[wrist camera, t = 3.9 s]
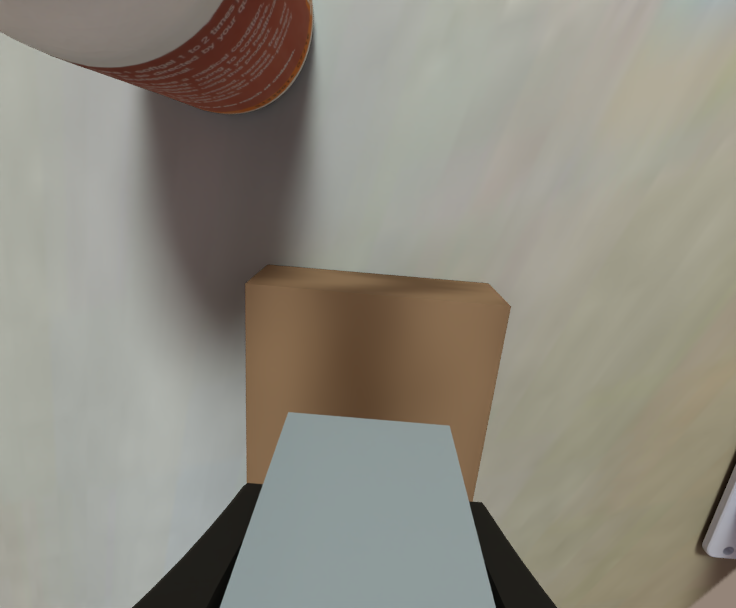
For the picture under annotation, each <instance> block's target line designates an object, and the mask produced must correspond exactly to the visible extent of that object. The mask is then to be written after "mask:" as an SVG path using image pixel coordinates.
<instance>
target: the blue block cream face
mask: <svg viewBox="0 0 736 608" xmlns="http://www.w3.org/2000/svg"><path fill="white" fill-rule="evenodd" d="M220 608H496V606H495V602H494V598H493V595H492V591H491V587H490V583H489V579H488V575H487V571H486V567H485V563H484V559H483V555H482V551H481V547H480V543H479V539H478V535H477V531H476V527H475V524H474V520H473V516H472V512H471V508H470V504H469V500H468V496H467V492H466V488H465V484H464V480H463V476H462V472H461V468H460V464H459V460H458V456H457V453H456V449H455V445H454V441H453V437H452V433H451V429H450V426H448V425H436V424H424V423H412V422H400V421H388V420H376V419H364V418H353V417H341V416H329V415H317V414H305V413H293V412H288V414H287V417H286V420H285V423H284V426H283V429H282V431H281V434H280V437H279V440H278V443H277V446H276V449H275V451H274V454H273V457H272V460H271V463H270V466H269V469H268V471H267V474H266V477H265V480H264V483H263V486H262V489H261V491H260V494H259V497H258V500H257V503H256V506H255V509H254V511H253V514H252V517H251V520H250V523H249V526H248V529H247V531H246V534H245V537H244V540H243V543H242V546H241V549H240V551H239V554H238V557H237V560H236V563H235V566H234V569H233V571H232V574H231V577H230V580H229V583H228V586H227V589H226V591H225V594H224V597H223V600H222V603H221V606H220Z"/></svg>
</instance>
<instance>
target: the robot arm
mask: <svg viewBox="0 0 736 608" xmlns="http://www.w3.org/2000/svg"><path fill="white" fill-rule="evenodd" d="M262 486H263V484H256V483H247V484H246V485H244V486H243V487H242V489H241V490H240V491H239V492H238V494H237V495H236V496H235V498H234V499H233V500H232V501H231V503H230V504H229V505H228V506H227V508H226V509H225V510H224V511H223V512H222V514H221V515H220V516H219V517H218V518H217V519H216V521H215V522H214V523H213V524H212V525H211V527H210V528H209V529H208V530H207V531H206V532H205V533H204V534H203V536H202V537H201V538H200V539H199V540H198V541H197V542H196V543H195V544H194V546H193V547H192V548H191V549H190V550H189V551H188V552H187V553H186V554H185V555H184V557H183V558H182V559H181V560H180V561H179V562H178V563H177V564H176V565H175V566H174V567H173V568H172V569H171V570H170V571H169V572H168V573H167V574H166V575H165V576H164V577H163V578H162V579H161V580H160V581H159V582H158V583H157V584H156V585H155V586H154V587H153V588H152V589H151V590H150V591H149V592H148V593H147V594H146V595H145V596H144V597H143V598H142V599H141V600H140V601H139V602H138V603H137V604H135V605H134V606H133V607H132V608H220V606H221V603H222V600H223V597H224V594H225V591H226V589H227V586H228V583H229V580H230V577H231V574H232V571H233V569H234V566H235V563H236V560H237V557H238V554H239V551H240V549H241V546H242V543H243V540H244V537H245V534H246V531H247V529H248V526H249V523H250V520H251V517H252V514H253V511H254V509H255V506H256V503H257V500H258V497H259V494H260V491H261V489H262ZM469 504H470V508H471V512H472V516H473V520H474V524H475V527H476V531H477V535H478V539H479V543H480V547H481V551H482V555H483V559H484V563H485V567H486V571H487V575H488V579H489V583H490V587H491V591H492V595H493V598H494V602H495V606H496V608H557V607H556V606H555V604H554V603H553V602H552V600H551V599H550V598H549V597H548V595H547V594H546V593H545V591H544V590H543V589H542V587H541V586H540V585H539V583H538V582H537V581H536V579H535V578H534V576H533V575H532V574H531V572H530V571H529V570H528V568H527V567H526V566H525V564H524V563H523V562H522V560H521V559H520V557H519V556H518V554H517V553H516V552H515V550H514V549H513V547H512V546H511V544H510V543H509V541H508V540H507V539H506V537H505V536H504V534H503V533H502V531H501V530H500V528H499V527H498V525H497V524H496V522H495V521H494V519H493V518H492V516H491V515H490V513H489V512H488V510H487V509H486V507H485V506H484V505H483V503H482V502H470V501H469ZM702 547H703V549H704V550H705V552H706V553H707V554H708V555H709V556H711V557H718V558H730V559H736V465H735V467H734V470H733V472H732V474H731V477H730V479H729V481H728V484H727V486H726V488H725V491H724V493H723V496H722V498H721V500H720V503H719V505H718V507H717V510H716V512H715V515H714V517H713V519H712V522H711V524H710V526H709V529H708V531H707V534H706V536H705V538H704V541H703V543H702Z"/></svg>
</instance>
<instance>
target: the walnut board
mask: <svg viewBox="0 0 736 608" xmlns="http://www.w3.org/2000/svg"><path fill="white" fill-rule="evenodd" d="M510 308H511V306H510V305H509V304H508V303H507V302H506V301H505V300H504V299H503V298H502V297H501V296H500V295H499V294H498V293H497V292H496V291H495V290H494V289H493V288H492V287H491V286H490V285H489V284H488V283H477V282H465V281H453V280H442V279H430V278H418V277H407V276H395V275H383V274H372V273H360V272H348V271H337V270H325V269H313V268H302V267H290V266H278V265H267V266H265V267H264V268H263V269H262V270H261V271H259V272H258V273H257V274H256V275H255V276H254V277H252V278H251V279H250V280H249V281H248V282H247V283H245V324H246V444H247V483H256V484H263V483H264V480H265V477H266V474H267V471H268V469H269V466H270V463H271V460H272V457H273V454H274V451H275V449H276V446H277V443H278V440H279V437H280V434H281V431H282V429H283V426H284V423H285V420H286V417H287V414H288V412H293V413H305V414H317V415H329V416H341V417H353V418H364V419H376V420H388V421H400V422H412V423H424V424H436V425H448V426H450V429H451V433H452V437H453V441H454V445H455V449H456V453H457V456H458V460H459V464H460V468H461V472H462V476H463V480H464V484H465V488H466V492H467V496H468V500H469V501H470V502H472V501H473V496H474V491H475V486H476V481H477V476H478V471H479V466H480V461H481V455H482V450H483V445H484V440H485V435H486V430H487V425H488V420H489V415H490V410H491V405H492V400H493V394H494V389H495V384H496V379H497V374H498V369H499V364H500V359H501V354H502V349H503V344H504V339H505V334H506V328H507V323H508V318H509V313H510Z"/></svg>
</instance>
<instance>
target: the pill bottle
mask: <svg viewBox="0 0 736 608" xmlns="http://www.w3.org/2000/svg"><path fill="white" fill-rule="evenodd" d="M312 31H313V3H312V0H0V32H2V33H4V34H6V35H7V36H9V37H11V38H13V39H15V40H17V41H19V42H21V43H23V44H26V45H28V46H30V47H32V48H35V49H37V50H39V51H42V52H44V53H46V54H48V55H50V56H53V57H56V58H59V59H62V60H64V61H67V62H70V63H72V64H75V65H78V66H81V67H84V68H87V69H90V70H93V71H96V72H98V73H101V74H104V75H107V76H110V77H113V78H115V79H118V80H121V81H124V82H127V83H130V84H133V85H135V86H138V87H141V88H144V89H147V90H150V91H152V92H155V93H158V94H161V95H164V96H166V97H169V98H172V99H174V100H177V101H180V102H183V103H185V104H188V105H191V106H193V107H196V108H199V109H202V110H205V111H210V112H215V113H221V114H241V113H247V112H251V111H255V110H258V109H260V108H263V107H265V106H267V105H269V104H270V103H272V102H273V101H275V100H276V99H278V98H279V97H280V96H281V95H282V94H283V93H284V92H286V91H287V89H288V88H289V87H290V86H291V85H292V84H293V82H294V81H295V79H296V78H297V76H298V75H299V73H300V71H301V69H302V67H303V65H304V63H305V60H306V58H307V55H308V52H309V48H310V43H311V39H312Z"/></svg>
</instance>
